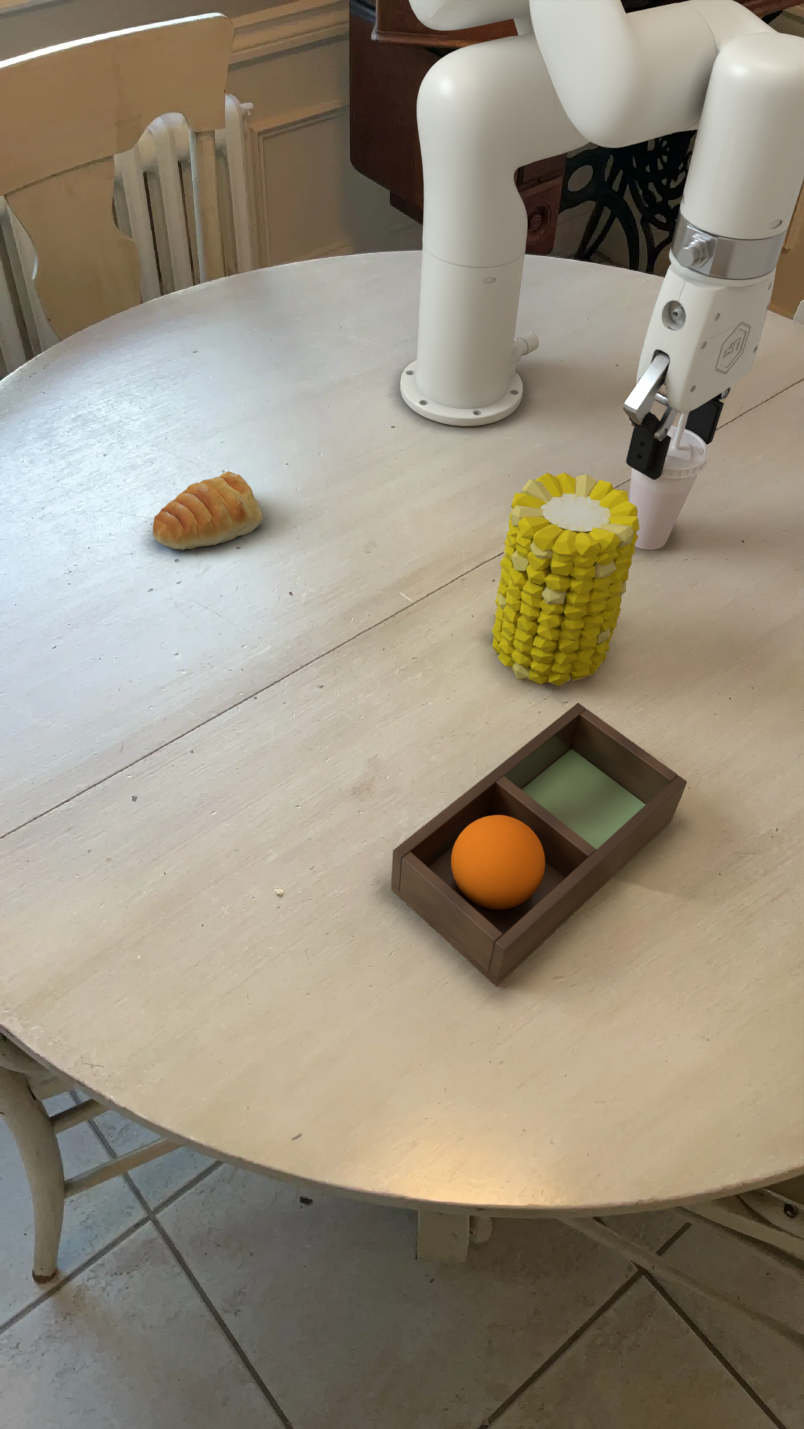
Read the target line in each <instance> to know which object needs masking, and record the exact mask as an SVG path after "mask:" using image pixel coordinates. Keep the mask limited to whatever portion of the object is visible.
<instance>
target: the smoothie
mask: <svg viewBox="0 0 804 1429" xmlns="http://www.w3.org/2000/svg"><path fill="white" fill-rule="evenodd" d="M688 414H689V412H686V413H680V418H679V421H678V424H677V425H673V424H672V425H671V427H670V429H669V431H668V433H667V435H668V436H669V437H671V441H670V445H669V448H668V452H667V456H666V459H665V463H664V467H663V470H662V474H661V476H660V477H659V478H658V479H656V480H652V479H651V478H649V477H647V476H646V475H644V474H642V473H640V472H639V471H637V470H635V469H633V468H632V467H631V476H630V486H629V495H628V500H629V502H630V503H632V504H634V505H635V506H636V507H637V509H638V513H637V517H638V521H639V527H640V530H638V531H637V532H636V534H637V535H638V539H637V541H636V543H635V548H638V549H641V550H645V551H646V550H647V551H654V550H658V549H661V548H663V547H664V546H665V545H666V544H667V541H668V539H669V537H670V535H671V533H672V531H673V528H674V526H675V524H676V522H677V520H678V518H679V517H680V514H681V511H682V509H683V508H684V505H685V503H686V501H687V499H688V497H689V494H690V493H691V490H692V489H693V486H694V484H695V482H696V480H697V478H698V475H699V474H700V473H701V472H703V470H704V469H705V468H706V465H707V463H708V458H709V455H710V454H709V453H710V452H709V447H708V445H706V443H705V442H704V441H703V439H702V438H701V437H699V436H698V435H697V434H695V433H693V432H691V431H690V430H687V429H684V428H685V425H686V421H687V418H688Z"/></svg>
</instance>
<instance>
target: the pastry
mask: <svg viewBox="0 0 804 1429" xmlns="http://www.w3.org/2000/svg"><path fill="white" fill-rule="evenodd" d="M263 518H264V516H263V512H262V508H261V506H260V503H259V501H258V500H257V498H256V497H255V495H254V492H253V490H252V488H251V486H250V485H249V483H248V482H247V481H246V480H245V478H243V476H242V475H241V474H238V473H234V472H233V471H228V470H227V471H226V472H223V473H221V474H220V475H219V476H215V477H213V478H208V479H203V480H202V481H199V482H194V483H192V484H190V485H188V486H187V487H186V489H185V490H183V491H182V492H181V493H179V494H178V495H177V496H176V497H175V498H174V499H172V500H171V501H169V502H168V503H167V504H166V505H165V506H163V507H162V508H161V509H160V511H158V513H157V514H156V515H154V517H153V522H152V537H153V538H154V539H155V540H156V541H157V542H158V543H159V544H161V545H163V546H166V547H168V548H170V549H174V550H182V551H184V550H186V549H188V550H194V549H196V548H201V547H208V548H209V547H211V546H216V545H219V544H222V543H227V542H229V541H231V540H234V539H236V538H237V537H240V536H245V535H246V536H247V535H248V534H250V533H252V532H254V531H255V529H257V528H258V527H259V526H260V524H262V522H263Z"/></svg>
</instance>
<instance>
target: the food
mask: <svg viewBox="0 0 804 1429" xmlns="http://www.w3.org/2000/svg"><path fill="white" fill-rule="evenodd" d="M520 491H521V492H514V494H513V499H512V501H511V505H510V507H511V511H510V514H509V515H508V517H509V520H508V531H507V532H506V537H505V540H504V543H503V544H504V548H503V551H502V552H503V557H502V558H501V560H500V562H499V565H500V567H501V569H500V579H499V582H498V587H497V593H496V596H495V600H494V603H495V605H496V609H495V611H494V614H493V615H494V617H495V619H494V624H493V626H492V630H491V632H492V636H493V639H492V646H491V647H492V649H493V650H494V652H495V654H496V655H498V656H497V660H499V661H500V663H501V664H502V665H503V666H504V667H507V668H511V670H512V672H513V673H514V675H515V677H516V679H517V680H530V681H531V682H534V683H535V684H537V685H543V684H546V683H550V684H552V685H555V686H557V687H560V686H562V685H564V684H565V683H567V682H569V681H571V680H572V681H579V680H582V679H585V678H587V677H588V676H591V677H592V676H593V675H595V674H596V672H597V671H598V670H599V668H600V666H601V665H602V664H603V663H605V661H606V660H607V658H608V655H607V653H608V652H609V651H610V643H611V640H612V638H613V635H614V630H616V628H617V627H618V620H619V616H620V613H621V610H622V608H621V605H622V597H623V595H624V594H625V593H626V592H627V581H628V580H629V571H630V568H631V566H632V564H633V555H634V554H635V552H636V546H635V543H636V541H637V539H638V535H637V534H636V532H637V531H638V530H640V527H639V521H638V517H637V513H638V509H637V507H636V506H635V505H634V504H632V503H630V502H629V495H628V494H629V493H628V491H626V490H621V489H616V488H615V487H614V485H613V483H612V482H609V481H606V480H602V479H599V480H597V479H595V478H594V477H592V476H591V475H589V474H587V473H584V474H581V475H577V476H575V477H573V476H572V475H570V474H568V473H567V472H563V473H559V474H557V475H556V476H555V475H553V474H551V473H549V472H546V473H544V474H542V475H541V476H538V477H537V478H536V479H529V480H528V481H527V482H526V483H525V484H524V486H523V487H522V488H521V489H520Z"/></svg>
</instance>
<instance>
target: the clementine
mask: <svg viewBox="0 0 804 1429" xmlns="http://www.w3.org/2000/svg"><path fill="white" fill-rule="evenodd" d="M451 868H452V873H453V877H454V879H455V882H456V884H457V886H458V887H459V889H460V890H461V892H462V893H463V894H464V895H465V896H466V897H467V898H468V899H470V900H471V901H472V902H474V903H475V904H477V905H479V906H481V907H485V908H488V909H494V910H503V909H509V908H513V907H516V906H518V905H520V904H522V903H524V902H525V901H526V900H528V899H529V898H530V897H531V896H532V895H533V894H534V893H535V891H536V890H537V889H538V887H539V885H540V883H541V881H542V879H543V875H544V870H545V856H544V851H543V847H542V845H541V843H540V840H539V839H538V837H537V836H536V834H535V833H534V832H533V831H532V829H530V828H529V827H528V826H527V825H526V824H524V823H523V822H521V821H519V820H517V819H515V818H512V817H509V816H504V815H492V816H486V817H483V818H480V819H478V820H476V821H474V822H472V823H471V824H470V825H468V826H467V827H466V828H465V829H464V830H463V831H462V832H461V834H460V835H459V837H458V838H457V840H456V842H455V844H454V847H453V851H452V855H451Z"/></svg>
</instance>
